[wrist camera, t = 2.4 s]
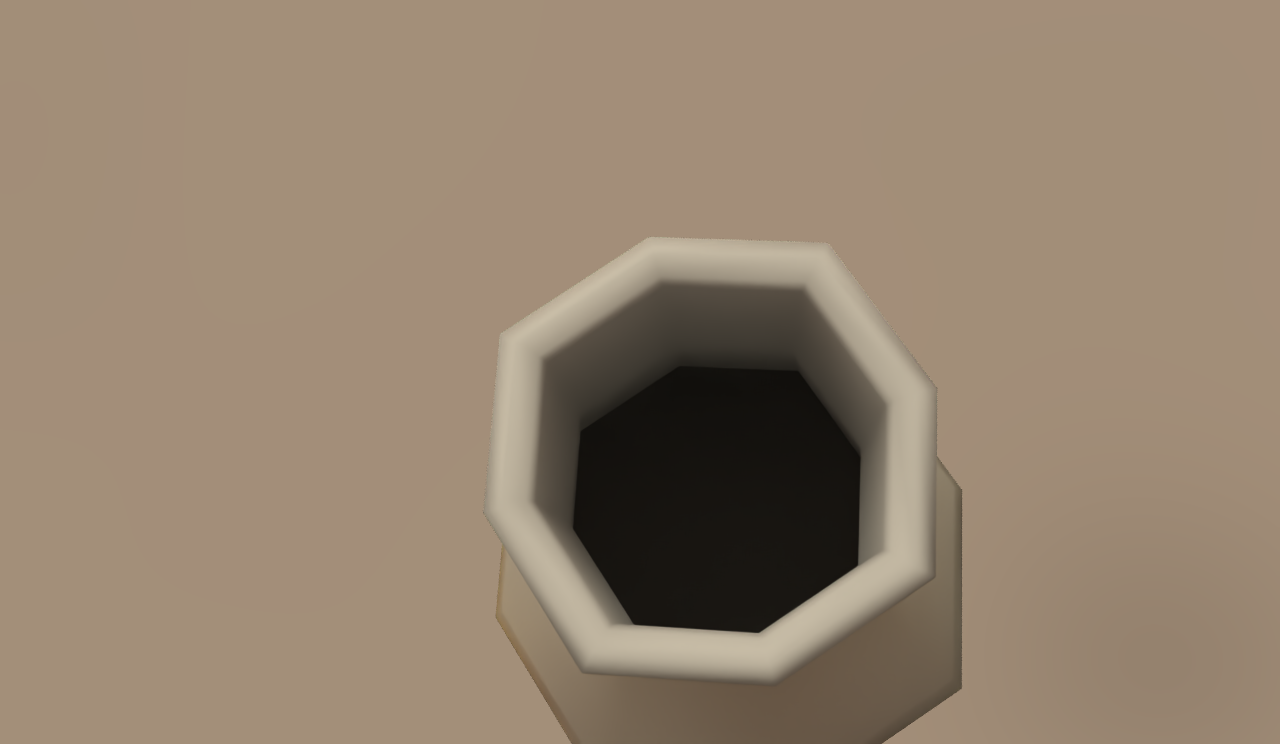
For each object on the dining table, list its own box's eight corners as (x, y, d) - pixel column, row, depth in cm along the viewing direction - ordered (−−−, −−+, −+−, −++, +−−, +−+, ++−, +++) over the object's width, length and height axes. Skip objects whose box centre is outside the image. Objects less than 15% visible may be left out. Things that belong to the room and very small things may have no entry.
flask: (555, 863, 17) (293, 1176, 7) (448, 394, 18) (121, 121, 9) (1039, 734, 16) (1462, 870, 7) (885, 273, 18) (1047, -143, 9)
